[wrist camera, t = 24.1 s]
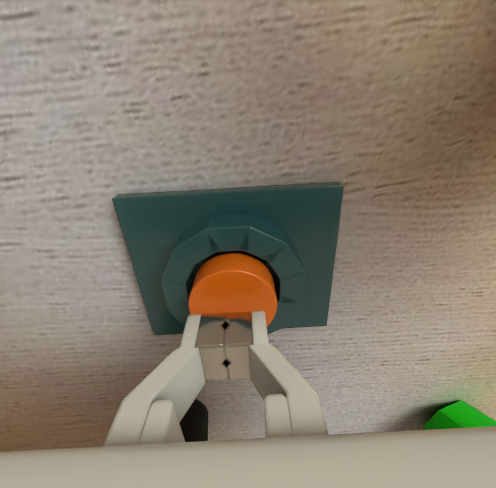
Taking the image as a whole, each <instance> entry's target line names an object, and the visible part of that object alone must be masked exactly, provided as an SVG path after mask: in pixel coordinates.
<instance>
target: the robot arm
mask: <svg viewBox="0 0 496 488" xmlns="http://www.w3.org/2000/svg"><path fill="white" fill-rule="evenodd" d="M241 379H251V381H252V382H253V384H254V386H255V387H256V389H257V390H258V392H259V394H260V395H261V397H262V398H263V400H264V406H265V438H256V439H236V440H217V441H198V442H185V439H184V436H183V433H182V430H181V427H180V424H179V423H180V421H181V420H182V418H183V417H184V415H185V414H186V412H187V411H188V409H189V408H190V406H191V405H192V403H193V402H194V400H195V399H196V397H197V396H198V394H199V393H200V391H201V390H202V388H203V387H204V385H205V384H206V382H207V381H219V380H241ZM0 488H496V426H491V427H472V428H452V429H433V430H413V431H394V432H374V433H354V434H335V435H328V431H327V428H326V424H325V420H324V416H323V413H322V409H321V405H320V401H319V398H318V394H317V391H316V390H315V389H314V388H313V387H312V385H311V384H310V383H309V382H308V381H307V380H306V379H305V378H304V377H303V376H302V375H301V374H300V373H299V372H298V370H297V369H296V368H295V367H294V366H293V365H292V364H291V363H290V362H289V361H288V360H287V359H286V358H285V357H284V356H283V354H282V353H281V352H280V351H279V350H278V349H277V348H276V347H275V346H274V345H273V344H269V343H268V334H267V326H266V317H265V312H264V311H252V314H251V312H236V313H216V314H189V316H188V317H187V321H186V324H185V328H184V332H183V336H182V339H181V343H180V347H179V349H174V350H173V351H172V352H171V353H170V354H169V355H168V356H167V357H166V358H165V359H164V360H163V361H162V362H161V363H160V364H159V365H158V366H157V367H156V368H155V369H154V370H153V371H152V372H151V373H150V374H149V375H148V376H147V377H146V378H145V379H144V380H143V381H142V382H141V383H139V384H138V385H137V386H136V387H135V388H134V389H133V390H132V391H131V392H130V393H129V394H128V395H127V396H126V397H125V398H124V399H123V400H122V402H121V404H120V406H119V409H118V411H117V413H116V416H115V418H114V421H113V423H112V425H111V428H110V430H109V432H108V435H107V437H106V440H105V442H104V444H103V446H101V447H81V448H62V449H42V450H22V451H3V452H0Z"/></svg>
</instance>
